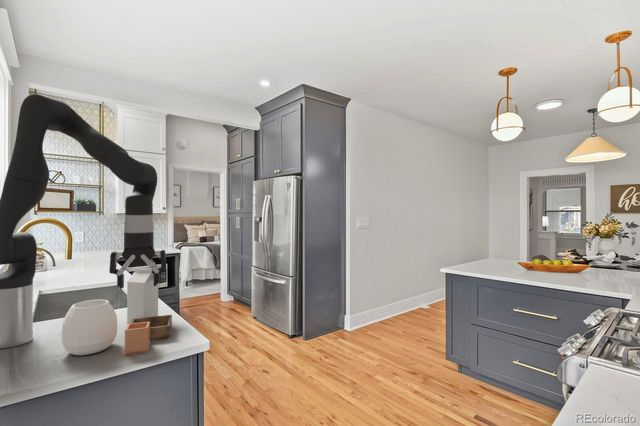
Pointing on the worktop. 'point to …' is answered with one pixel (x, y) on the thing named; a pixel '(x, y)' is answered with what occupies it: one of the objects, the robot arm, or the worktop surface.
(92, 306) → the white round vase
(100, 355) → the worktop surface
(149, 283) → the milk carton
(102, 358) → the worktop surface
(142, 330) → the terracotta crate
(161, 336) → the walnut crate
